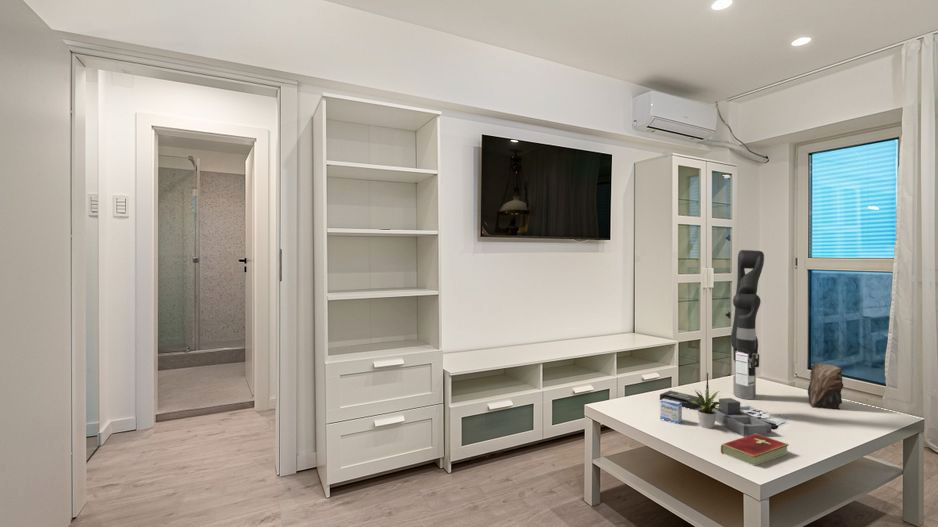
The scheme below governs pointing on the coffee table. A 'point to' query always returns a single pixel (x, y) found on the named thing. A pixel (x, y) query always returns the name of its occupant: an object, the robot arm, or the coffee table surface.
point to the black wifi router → (683, 398)
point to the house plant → (707, 410)
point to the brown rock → (825, 386)
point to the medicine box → (671, 410)
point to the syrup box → (743, 370)
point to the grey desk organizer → (740, 419)
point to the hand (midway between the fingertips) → (745, 373)
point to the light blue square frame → (748, 408)
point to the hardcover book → (754, 449)
